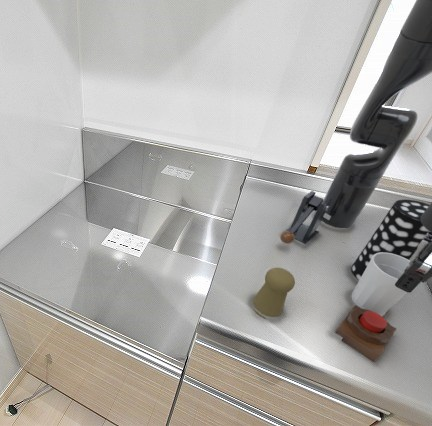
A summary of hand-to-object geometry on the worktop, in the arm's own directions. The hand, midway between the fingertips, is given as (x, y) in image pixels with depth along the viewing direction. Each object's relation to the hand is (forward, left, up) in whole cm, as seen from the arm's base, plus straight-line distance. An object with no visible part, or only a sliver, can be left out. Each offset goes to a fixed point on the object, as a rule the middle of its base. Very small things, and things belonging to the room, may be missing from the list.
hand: (402, 287), depth 50 cm
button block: (0, 0, -15) cm, 15 cm away
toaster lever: (-17, -22, -8) cm, 29 cm away
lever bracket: (-21, -22, -15) cm, 34 cm away
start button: (0, 0, -11) cm, 11 cm away
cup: (-9, -2, -15) cm, 17 cm away
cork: (+9, -15, -15) cm, 23 cm away
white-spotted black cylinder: (-18, -4, -15) cm, 24 cm away
